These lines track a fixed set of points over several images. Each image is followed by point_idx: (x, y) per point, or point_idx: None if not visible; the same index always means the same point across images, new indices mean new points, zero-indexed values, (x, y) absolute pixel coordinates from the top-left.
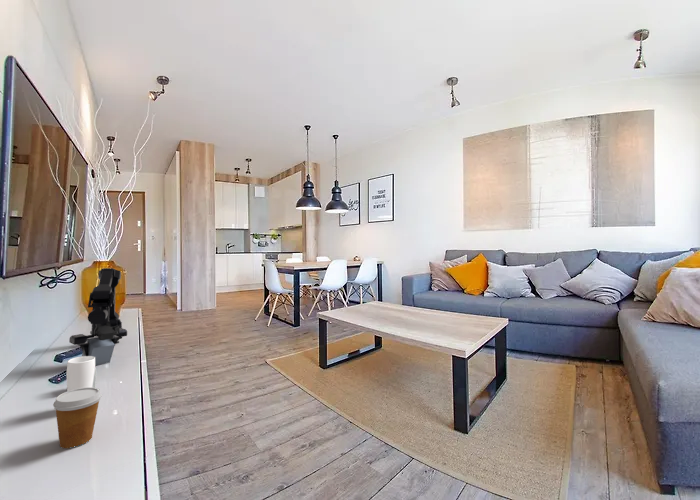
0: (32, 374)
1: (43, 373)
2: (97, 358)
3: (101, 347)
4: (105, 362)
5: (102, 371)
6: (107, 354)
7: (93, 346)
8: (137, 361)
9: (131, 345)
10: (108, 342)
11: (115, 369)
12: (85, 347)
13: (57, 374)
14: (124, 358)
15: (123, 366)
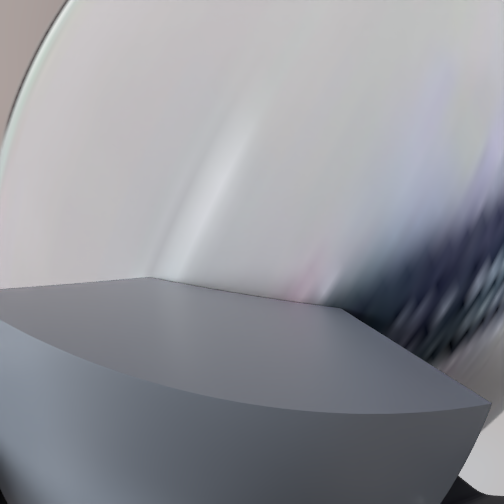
0: (497, 405)
1: (488, 390)
2: (277, 313)
3: (248, 392)
4: (184, 285)
5: (340, 56)
6: (143, 296)
7: (426, 489)
8: (26, 105)
9: None
10: (22, 454)
11: (233, 10)
12: (455, 498)
13: (501, 320)
14: (47, 272)
15: (141, 42)
